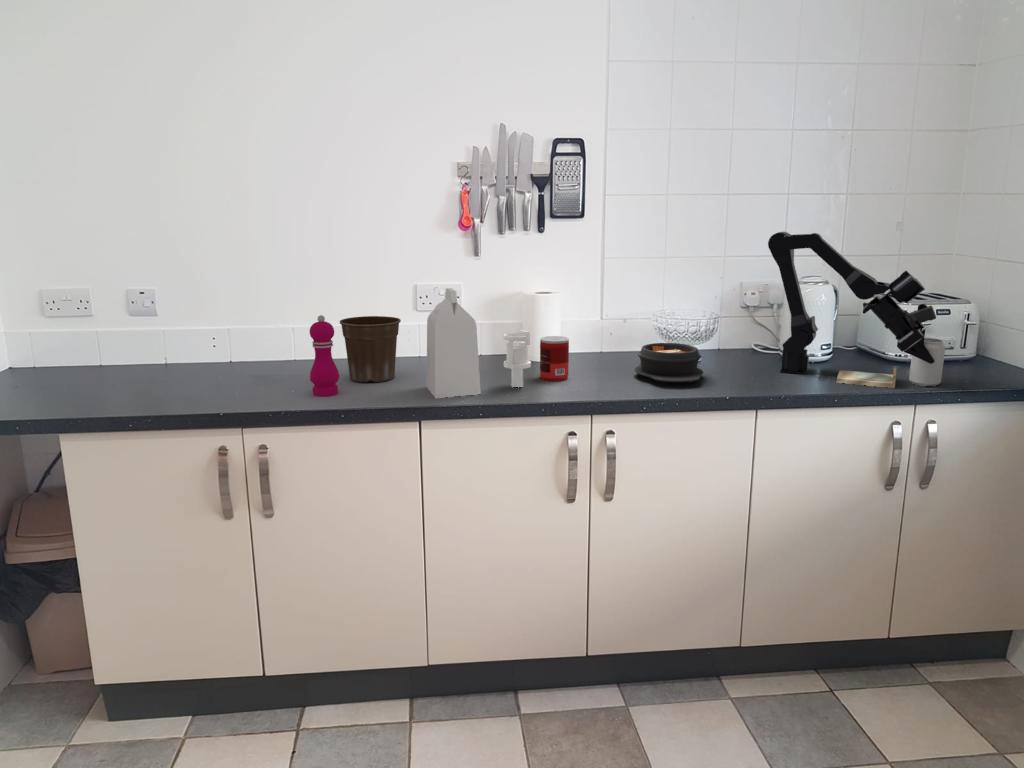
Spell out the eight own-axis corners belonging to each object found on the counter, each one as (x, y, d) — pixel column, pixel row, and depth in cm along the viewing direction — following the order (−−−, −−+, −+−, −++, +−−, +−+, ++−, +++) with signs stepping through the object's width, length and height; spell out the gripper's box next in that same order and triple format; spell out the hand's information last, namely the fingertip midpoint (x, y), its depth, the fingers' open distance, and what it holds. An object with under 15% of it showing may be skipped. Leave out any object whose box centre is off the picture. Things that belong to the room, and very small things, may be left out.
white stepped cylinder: (522, 391, 203) (522, 333, 199) (498, 387, 206) (498, 331, 203) (535, 385, 209) (535, 329, 205) (512, 382, 212) (511, 326, 209)
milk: (480, 395, 199) (479, 291, 193) (435, 398, 196) (432, 293, 190) (469, 384, 211) (467, 286, 204) (426, 387, 207) (423, 287, 201)
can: (944, 388, 205) (950, 342, 202) (912, 386, 206) (918, 341, 203) (935, 381, 212) (941, 337, 209) (905, 380, 213) (910, 336, 211)
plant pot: (369, 369, 228) (366, 313, 224) (414, 375, 220) (412, 318, 217) (330, 380, 215) (326, 321, 211) (376, 388, 207) (374, 326, 203)
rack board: (836, 382, 211) (837, 371, 210) (839, 374, 220) (840, 363, 219) (894, 388, 205) (896, 376, 204) (895, 379, 214) (896, 367, 214)
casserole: (626, 368, 229) (626, 339, 227) (689, 367, 230) (691, 338, 228) (644, 389, 205) (645, 357, 203) (715, 388, 206) (717, 356, 204)
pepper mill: (313, 390, 204) (308, 313, 200) (341, 389, 205) (337, 312, 200) (308, 397, 197) (303, 317, 193) (338, 396, 198) (333, 317, 193)
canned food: (572, 376, 219) (573, 337, 216) (561, 382, 212) (562, 342, 209) (546, 373, 222) (547, 335, 219) (535, 379, 215) (535, 339, 212)
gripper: (917, 299, 197) (962, 346, 195) (919, 290, 213) (960, 334, 211) (879, 327, 203) (922, 374, 200) (883, 317, 219) (923, 360, 216)
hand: (933, 359), depth 207 cm, fingers closed on can, 7 cm apart
